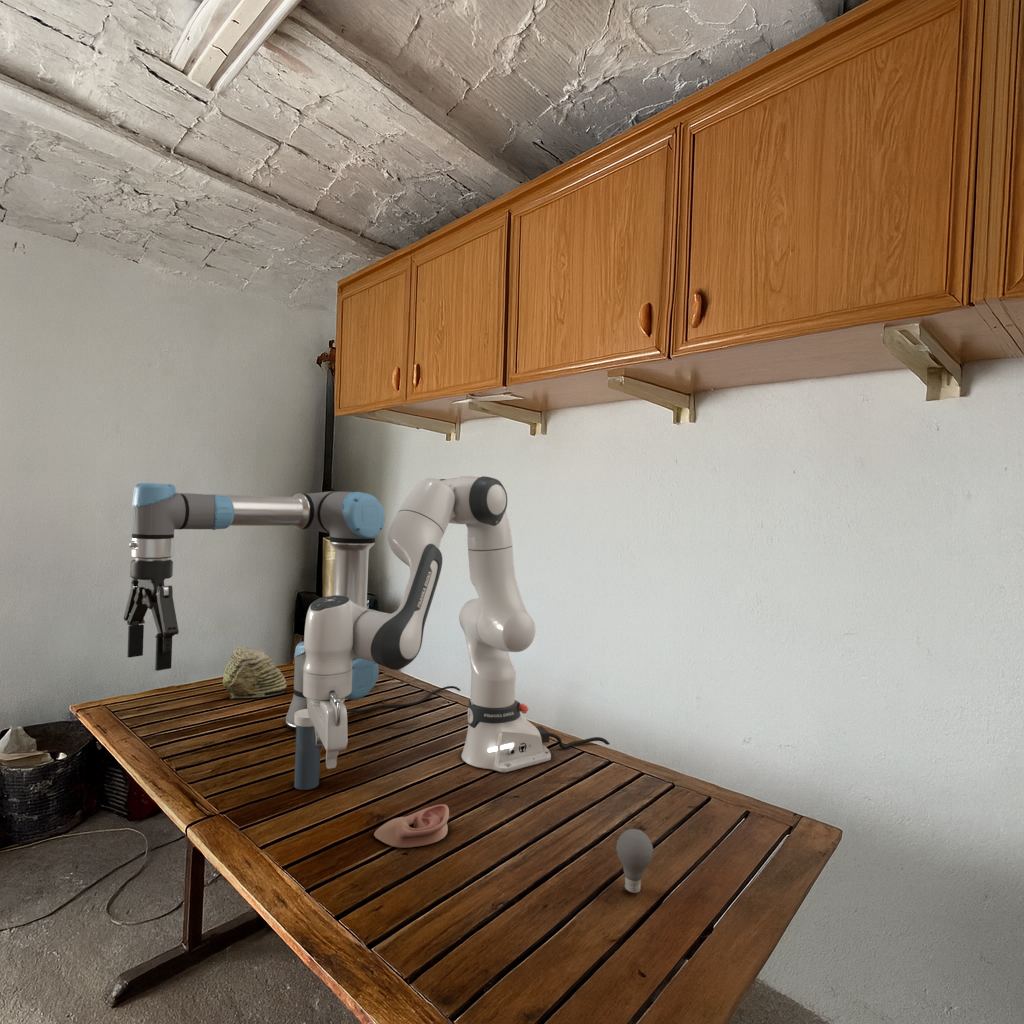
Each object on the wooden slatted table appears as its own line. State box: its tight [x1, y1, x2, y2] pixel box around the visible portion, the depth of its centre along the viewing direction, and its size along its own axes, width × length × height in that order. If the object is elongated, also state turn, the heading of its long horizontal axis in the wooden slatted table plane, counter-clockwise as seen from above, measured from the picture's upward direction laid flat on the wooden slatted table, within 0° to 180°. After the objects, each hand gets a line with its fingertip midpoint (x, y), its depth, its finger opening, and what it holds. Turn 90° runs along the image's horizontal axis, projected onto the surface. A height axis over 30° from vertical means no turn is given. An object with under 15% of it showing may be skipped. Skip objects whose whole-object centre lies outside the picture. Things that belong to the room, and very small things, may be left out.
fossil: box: [222, 646, 288, 699], centre depth 198 cm, size 9×18×15 cm, turn 132°
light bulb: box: [615, 828, 654, 894], centre depth 106 cm, size 6×6×10 cm
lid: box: [294, 709, 314, 727], centre depth 139 cm, size 6×6×2 cm
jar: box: [293, 725, 322, 791], centre depth 139 cm, size 5×5×15 cm
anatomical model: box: [373, 803, 450, 849], centre depth 121 cm, size 13×4×12 cm
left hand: (148, 662), depth 129 cm, fingers open, 13 cm apart
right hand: (325, 756), depth 119 cm, fingers open, 8 cm apart
